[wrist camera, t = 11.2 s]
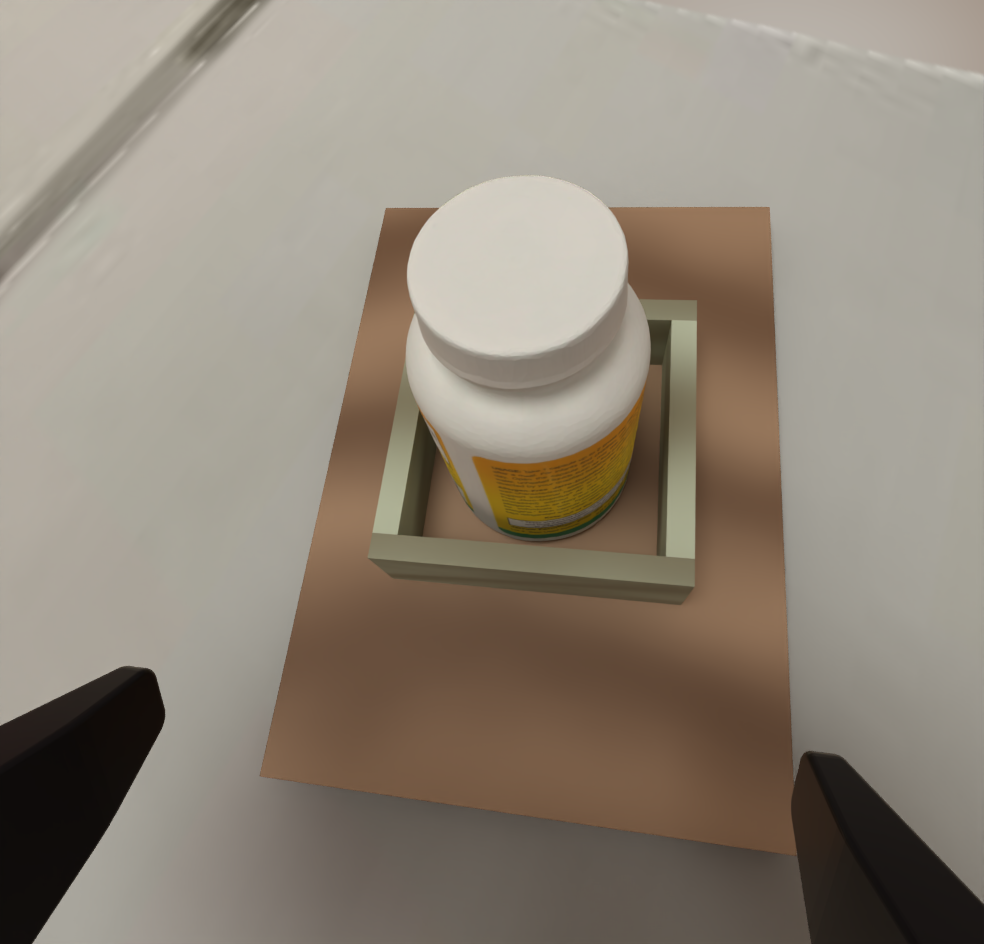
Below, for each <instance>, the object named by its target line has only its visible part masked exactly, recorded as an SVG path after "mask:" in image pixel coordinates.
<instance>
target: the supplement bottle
mask: <svg viewBox="0 0 984 944" xmlns="http://www.w3.org/2000/svg"><path fill="white" fill-rule="evenodd" d="M628 264H629V261H628V249H627V244H626V239H625V235H624V233H623V231H622V229H621V227H620V225H619V223H618V221H617V219H616V217H615V216H614V214H613V213H612V212H611V210H610V209H609V208H608V207H607V206H606V205H605V204H604V203H603V202H602V201H601V200H599V199H598V198H597V197H596V196H595V195H593V194H592V193H590V192H589V191H587V190H585V189H583V188H582V187H579V186H577V185H575V184H573V183H570V182H567V181H564V180H561V179H556V178H552V177H547V176H538V175H523V176H509V177H502V178H498V179H493V180H489V181H486V182H484V183H481V184H479V185H476V186H473V187H471V188H468V189H467V190H465V191H463V192H462V193H460V194H458V195H456V196H455V197H453V198H452V199H451V200H449V201H448V202H446V203H445V204H444V205H443V206H441V207H440V208H439V209H438V210H437V211H436V212H435V213H434V214H433V215H432V216H431V217H430V218H429V219H428V220H427V222H426V223H425V224H424V226H423V227H422V229H421V230H420V232H419V234H418V235H417V237H416V239H415V241H414V243H413V246H412V249H411V252H410V256H409V261H408V265H407V285H408V291H409V296H410V299H411V303H412V306H413V308H414V311H415V314H414V316H413V319H412V322H411V324H410V328H409V332H408V336H407V342H406V369H407V376H408V381H409V384H410V388H411V391H412V393H413V396H414V398H415V401H416V403H417V405H418V408H419V410H420V412H421V414H422V416H423V418H424V420H425V422H426V424H427V426H428V428H429V430H430V433H431V435H432V437H433V439H434V441H435V443H436V445H437V447H438V449H439V451H440V453H441V455H442V457H443V459H444V461H445V463H446V466H447V468H448V470H449V472H450V474H451V477H452V479H453V481H454V483H455V485H456V486H457V488H458V490H459V492H460V494H461V496H462V498H463V499H464V501H465V502H466V504H467V506H468V507H469V508H470V510H471V511H472V512H473V513H474V514H475V515H476V516H477V517H478V518H479V519H480V520H481V521H482V522H483V523H485V524H486V525H487V526H489V527H490V528H492V529H494V530H495V531H497V532H499V533H501V534H504V535H506V536H509V537H511V538H515V539H519V540H524V541H550V540H557V539H563V538H567V537H570V536H573V535H576V534H578V533H580V532H582V531H584V530H586V529H588V528H590V527H591V526H593V525H594V524H596V523H597V522H598V521H599V520H601V519H602V518H603V517H604V516H605V515H606V514H607V513H608V512H609V511H610V510H611V508H612V507H613V506H614V504H615V503H616V501H617V500H618V498H619V497H620V495H621V493H622V491H623V488H624V486H625V483H626V480H627V475H628V472H629V467H630V462H631V458H632V453H633V448H634V442H635V438H636V432H637V428H638V422H639V416H640V411H641V406H642V401H643V396H644V391H645V385H646V381H647V376H648V371H649V365H650V354H651V341H650V333H649V326H648V322H647V319H646V315H645V312H644V309H643V307H642V305H641V303H640V301H639V299H638V297H637V295H636V294H635V292H634V290H633V289H632V287H631V286H630V285H629V283H628Z"/></svg>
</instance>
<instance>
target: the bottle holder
mask: <svg viewBox="0 0 984 944" xmlns="http://www.w3.org/2000/svg"><path fill="white" fill-rule="evenodd" d="M438 209H439V208H386V210H385V215H384V219H383V224H382V228H381V233H380V237H379V242H378V246H377V251H376V255H375V260H374V264H373V269H372V273H371V278H370V282H369V287H368V291H367V296H366V300H365V305H364V309H363V314H362V318H361V323H360V327H359V332H358V336H357V341H356V345H355V350H354V354H353V359H352V363H351V368H350V372H349V377H348V381H347V386H346V390H345V395H344V399H343V404H342V408H341V413H340V417H339V422H338V426H337V431H336V435H335V440H334V444H333V449H332V453H331V458H330V462H329V467H328V471H327V476H326V480H325V485H324V489H323V494H322V498H321V503H320V507H319V512H318V516H317V520H316V525H315V529H314V534H313V538H312V543H311V547H310V552H309V556H308V561H307V565H306V570H305V574H304V579H303V583H302V588H301V592H300V597H299V601H298V606H297V610H296V615H295V619H294V624H293V628H292V633H291V637H290V642H289V646H288V651H287V655H286V660H285V664H284V669H283V673H282V678H281V682H280V687H279V691H278V696H277V700H276V705H275V709H274V714H273V718H272V723H271V727H270V732H269V736H268V741H267V745H266V750H265V754H264V759H263V763H262V768H261V772H260V776H261V777H268V778H275V779H281V780H288V781H295V782H302V783H308V784H315V785H322V786H328V787H335V788H342V789H349V790H355V791H362V792H369V793H376V794H382V795H389V796H396V797H402V798H409V799H416V800H423V801H429V802H436V803H443V804H450V805H456V806H463V807H470V808H477V809H483V810H490V811H497V812H503V813H510V814H517V815H524V816H530V817H537V818H544V819H551V820H557V821H564V822H571V823H578V824H584V825H591V826H598V827H604V828H611V829H618V830H625V831H631V832H638V833H645V834H652V835H658V836H665V837H672V838H679V839H685V840H692V841H699V842H705V843H712V844H719V845H726V846H732V847H739V848H746V849H753V850H759V851H766V852H773V853H780V854H786V855H793V856H797V855H796V843H795V836H794V830H793V824H792V817H791V798H792V793H793V789H794V783H793V759H792V735H791V711H790V687H789V663H788V639H787V615H786V591H785V566H784V542H783V518H782V494H781V470H780V446H779V422H778V398H777V374H776V350H775V326H774V302H773V278H772V254H771V230H770V207H618V208H609V209H610V210H611V212H612V213H613V214H614V216H615V217H616V219H617V221H618V223H619V225H620V227H621V229H622V231H623V233H624V235H625V239H626V244H627V249H628V261H629V264H628V283H629V285H630V286H631V287H632V289H633V290H634V292H635V294H636V295H637V297H638V299H639V301H640V303H641V305H642V307H643V309H644V312H645V315H646V319H647V322H648V326H649V333H650V341H651V354H650V365H649V371H648V376H647V381H646V385H645V391H644V396H643V401H642V406H641V411H640V416H639V422H638V428H637V432H636V438H635V442H634V448H633V453H632V458H631V462H630V467H629V472H628V475H627V480H626V483H625V486H624V488H623V491H622V493H621V495H620V497H619V498H618V500H617V501H616V503H615V504H614V506H613V507H612V508H611V510H610V511H609V512H608V513H607V514H606V515H605V516H604V517H603V518H602V519H601V520H599V521H598V522H597V523H596V524H594V525H593V526H591V527H590V528H588V529H586V530H584V531H582V532H580V533H578V534H576V535H573V536H570V537H567V538H563V539H557V540H550V541H524V540H519V539H515V538H511V537H509V536H506V535H504V534H501V533H499V532H497V531H495V530H494V529H492V528H490V527H489V526H487V525H486V524H485V523H483V522H482V521H481V520H480V519H479V518H478V517H477V516H476V515H475V514H474V513H473V512H472V511H471V510H470V508H469V507H468V506H467V504H466V502H465V501H464V499H463V498H462V496H461V494H460V492H459V490H458V488H457V486H456V485H455V483H454V481H453V479H452V477H451V474H450V472H449V470H448V468H447V466H446V463H445V461H444V459H443V457H442V455H441V453H440V451H439V449H438V447H437V445H436V443H435V441H434V439H433V437H432V435H431V433H430V430H429V428H428V426H427V424H426V422H425V420H424V418H423V416H422V414H421V412H420V410H419V408H418V405H417V403H416V401H415V398H414V396H413V393H412V391H411V388H410V384H409V381H408V376H407V369H406V342H407V336H408V332H409V328H410V324H411V322H412V319H413V316H414V314H415V311H414V308H413V306H412V303H411V299H410V296H409V291H408V285H407V265H408V261H409V256H410V252H411V249H412V246H413V243H414V241H415V239H416V237H417V235H418V234H419V232H420V230H421V229H422V227H423V226H424V224H425V223H426V222H427V220H428V219H429V218H430V217H431V216H432V215H433V214H434V213H435V212H436V211H437V210H438Z"/></svg>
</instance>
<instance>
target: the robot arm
mask: <svg viewBox="0 0 984 944" xmlns="http://www.w3.org/2000/svg"><path fill="white" fill-rule="evenodd" d="M164 720H165V708H164V704H163V700H162V697H161V693H160V689H159V686H158V682H157V678H156V675H155V673H154V672H153V671H152V670H150V669H148V668H141V667H133V666H124V667H120V668H118V669H116V670H114V671H112V672H110V673H108V674H106V675H104V676H102V677H100V678H98V679H95V680H93V681H91V682H89V683H87V684H85V685H83V686H81V687H79V688H77V689H75V690H73V691H71V692H69V693H67V694H65V695H63V696H61V697H58V698H56V699H54V700H52V701H50V702H48V703H46V704H44V705H42V706H40V707H38V708H36V709H34V710H32V711H30V712H28V713H26V714H24V715H21V716H19V717H17V718H15V719H13V720H11V721H9V722H7V723H5V724H3V725H1V726H0V944H32V943H33V942H34V940H35V939H36V937H37V936H38V934H39V933H40V931H41V930H42V928H43V927H44V925H45V924H46V922H47V921H48V919H49V917H50V916H51V914H52V913H53V911H54V910H55V908H56V907H57V905H58V904H59V902H60V901H61V899H62V898H63V896H64V895H65V893H66V892H67V890H68V889H69V887H70V886H71V884H72V883H73V881H74V879H75V878H76V876H77V875H78V873H79V872H80V870H81V869H82V867H83V866H84V864H85V863H86V861H87V860H88V858H89V857H90V855H91V854H92V852H93V851H94V849H95V848H96V846H97V844H98V843H99V841H100V840H101V838H102V836H103V835H104V833H105V832H106V830H107V828H108V827H109V825H110V823H111V821H112V820H113V818H114V816H115V815H116V813H117V811H118V809H119V807H120V805H121V804H122V802H123V800H124V798H125V796H126V794H127V792H128V791H129V789H130V787H131V785H132V783H133V781H134V780H135V778H136V776H137V774H138V772H139V770H140V768H141V767H142V765H143V763H144V761H145V759H146V757H147V755H148V754H149V752H150V750H151V748H152V746H153V744H154V742H155V741H156V739H157V737H158V735H159V733H160V731H161V729H162V727H163V724H164ZM791 817H792V824H793V830H794V836H795V843H796V849H797V856H798V862H799V869H800V875H801V881H802V888H803V894H804V901H805V907H806V914H807V920H808V926H809V932H810V938H811V944H984V904H983V903H982V902H981V901H980V900H979V898H978V897H977V896H976V895H975V894H974V893H973V892H972V891H971V890H970V889H969V888H968V887H967V886H966V885H965V884H964V883H963V882H962V881H961V880H960V879H959V878H958V877H957V876H956V875H955V874H954V872H953V871H952V870H951V869H950V868H949V867H948V866H947V865H946V864H945V863H944V862H943V861H942V860H941V859H940V858H939V857H938V856H937V855H936V854H935V853H934V852H933V851H932V850H931V849H930V847H929V846H928V845H927V844H926V843H925V842H924V841H923V840H922V839H921V838H920V837H919V836H918V835H917V834H916V833H915V832H914V831H913V830H912V829H911V828H910V827H909V826H908V825H907V824H906V823H905V821H904V820H903V819H902V818H901V817H900V816H899V815H898V814H897V813H896V812H895V811H894V810H893V809H892V808H891V807H890V806H889V805H888V804H887V803H886V802H885V801H884V800H883V799H882V798H881V797H880V795H879V794H878V793H877V792H876V791H875V790H874V789H873V788H872V787H871V786H870V785H869V784H868V783H867V782H866V781H865V780H864V779H863V778H862V777H861V776H860V775H859V774H858V773H857V772H856V771H855V769H854V768H853V767H852V766H851V765H850V764H849V763H848V762H847V761H846V760H845V759H844V758H842V757H841V756H839V755H836V754H830V753H822V752H814V751H808V752H805V753H804V754H803V756H802V757H801V761H800V765H799V769H798V773H797V777H796V781H795V785H794V789H793V793H792V798H791Z"/></svg>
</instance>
